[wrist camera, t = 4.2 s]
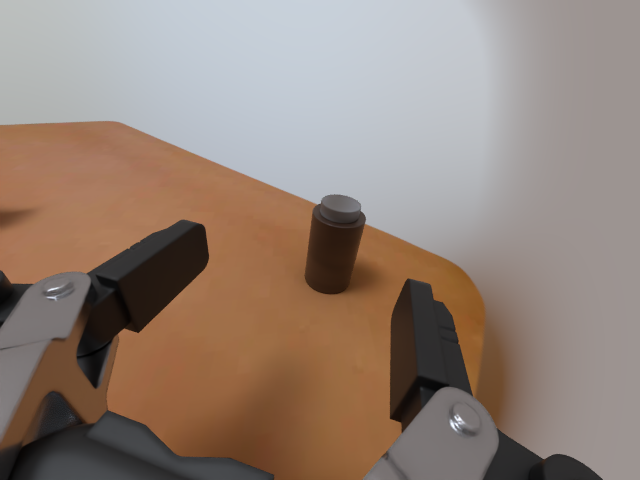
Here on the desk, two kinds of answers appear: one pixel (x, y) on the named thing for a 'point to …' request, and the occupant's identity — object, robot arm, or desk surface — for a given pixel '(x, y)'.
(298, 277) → the desk surface
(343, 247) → the pepper grinder
